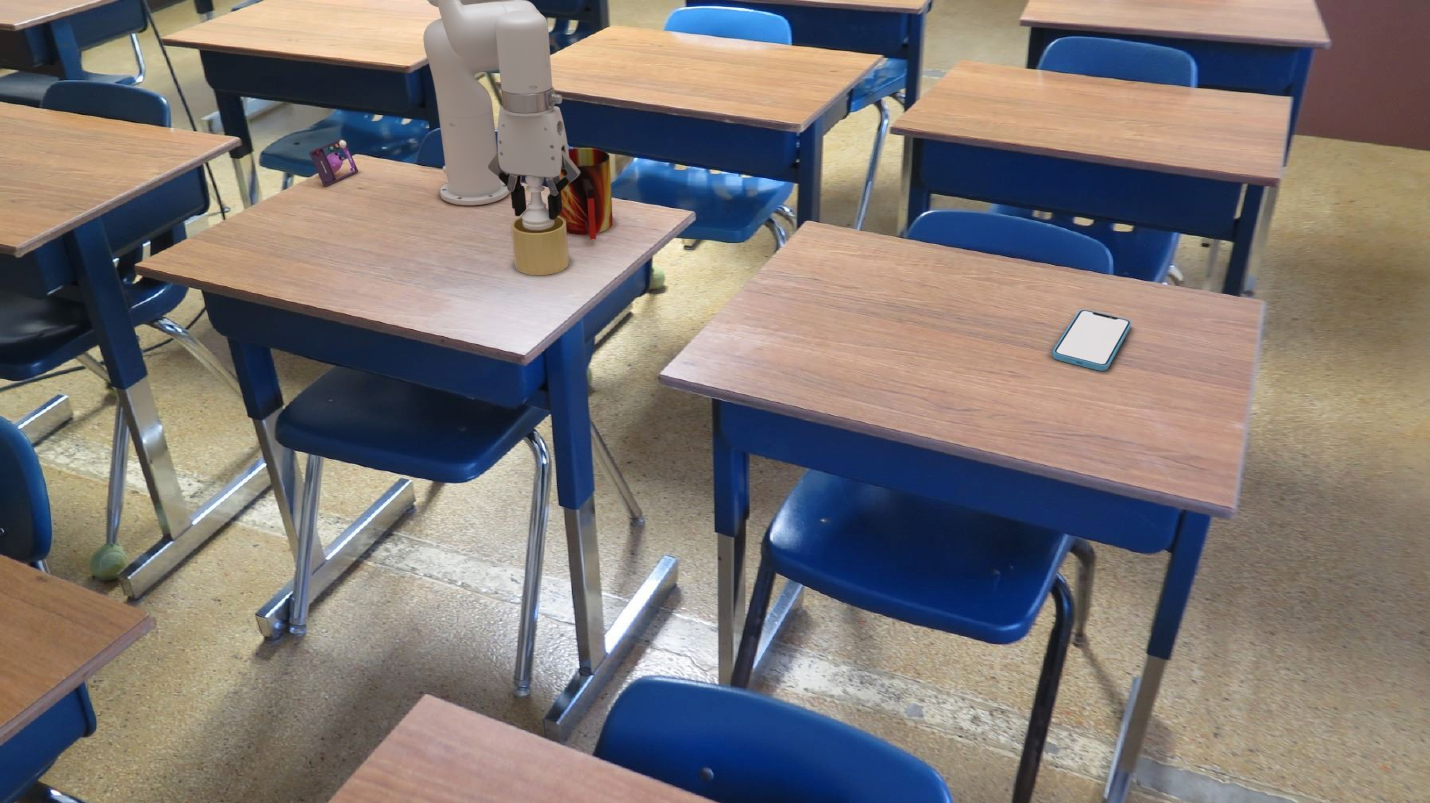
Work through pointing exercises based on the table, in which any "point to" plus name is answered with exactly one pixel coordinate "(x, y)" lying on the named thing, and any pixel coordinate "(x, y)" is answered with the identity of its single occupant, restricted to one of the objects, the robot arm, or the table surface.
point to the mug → (588, 193)
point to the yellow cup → (540, 248)
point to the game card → (331, 162)
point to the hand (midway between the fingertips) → (537, 213)
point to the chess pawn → (536, 206)
